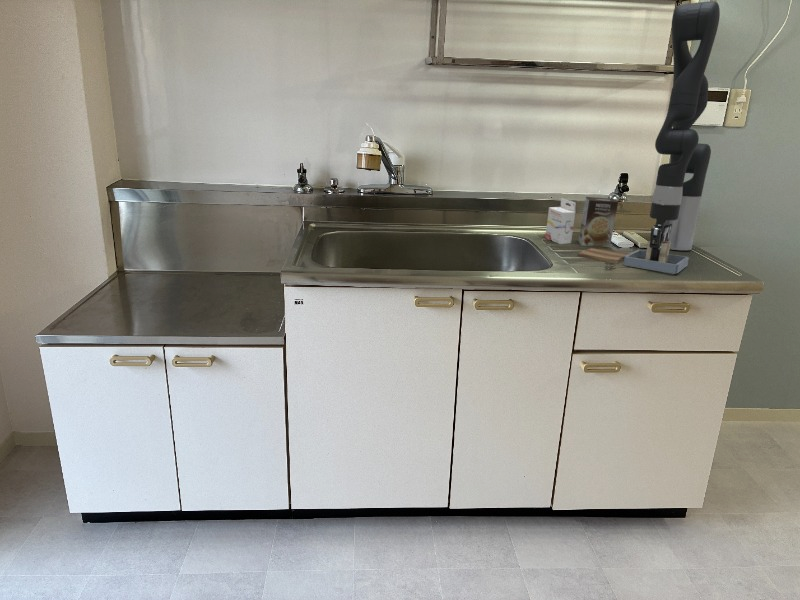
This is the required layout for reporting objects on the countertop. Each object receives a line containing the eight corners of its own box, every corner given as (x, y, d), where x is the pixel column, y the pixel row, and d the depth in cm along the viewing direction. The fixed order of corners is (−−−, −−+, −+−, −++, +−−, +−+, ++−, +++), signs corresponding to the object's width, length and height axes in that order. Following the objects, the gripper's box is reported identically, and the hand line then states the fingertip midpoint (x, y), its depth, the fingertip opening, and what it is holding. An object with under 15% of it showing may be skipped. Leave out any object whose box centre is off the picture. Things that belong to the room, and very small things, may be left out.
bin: (636, 257, 177) (638, 249, 177) (687, 265, 169) (689, 257, 168) (622, 265, 166) (623, 256, 165) (676, 274, 158) (678, 265, 157)
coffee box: (581, 248, 187) (588, 199, 181) (577, 244, 193) (584, 196, 187) (610, 250, 186) (618, 201, 181) (605, 245, 192) (613, 197, 187)
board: (590, 251, 183) (591, 247, 183) (629, 257, 177) (629, 253, 176) (577, 257, 174) (577, 253, 174) (616, 263, 167) (617, 259, 167)
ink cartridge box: (543, 241, 196) (549, 198, 190) (555, 240, 197) (561, 197, 192) (558, 247, 188) (565, 203, 183) (571, 246, 190) (577, 202, 185)
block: (648, 262, 171) (652, 238, 169) (666, 265, 168) (670, 241, 166) (644, 265, 167) (648, 241, 165) (662, 268, 164) (666, 243, 162)
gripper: (658, 198, 170) (649, 254, 175) (645, 202, 159) (635, 262, 164) (686, 201, 166) (675, 258, 171) (674, 205, 155) (663, 266, 160)
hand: (656, 260), depth 167 cm, fingers closed on block, 5 cm apart
